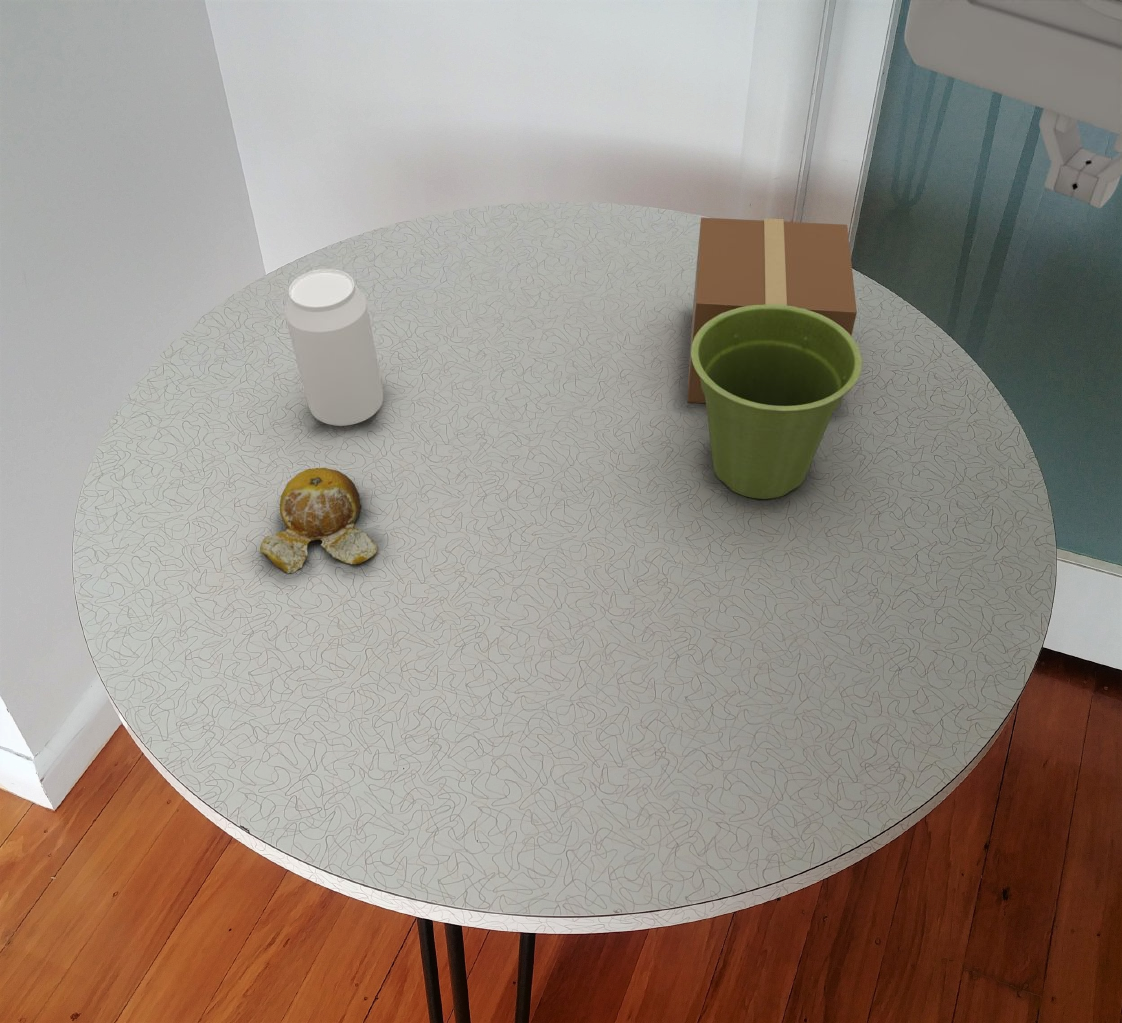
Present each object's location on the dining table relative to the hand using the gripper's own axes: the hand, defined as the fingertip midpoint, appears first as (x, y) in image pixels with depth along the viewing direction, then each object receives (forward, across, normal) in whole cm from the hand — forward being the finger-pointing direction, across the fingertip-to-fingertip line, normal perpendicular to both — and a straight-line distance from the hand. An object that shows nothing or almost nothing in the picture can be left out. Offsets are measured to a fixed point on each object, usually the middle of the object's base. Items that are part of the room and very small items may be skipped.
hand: (1078, 192), depth 53 cm
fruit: (+26, +35, +32) cm, 54 cm away
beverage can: (+28, +44, +21) cm, 56 cm away
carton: (+31, +23, -6) cm, 39 cm away
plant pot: (+30, +15, +4) cm, 34 cm away
